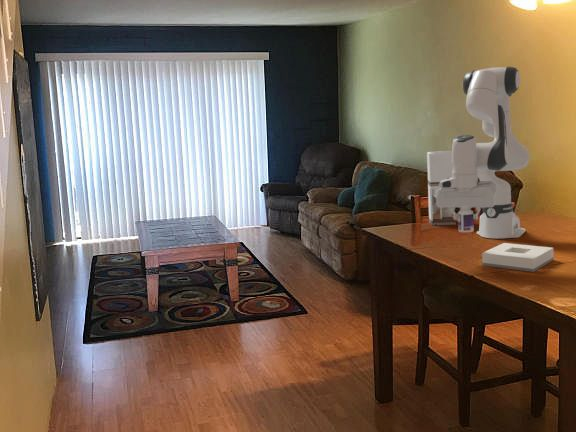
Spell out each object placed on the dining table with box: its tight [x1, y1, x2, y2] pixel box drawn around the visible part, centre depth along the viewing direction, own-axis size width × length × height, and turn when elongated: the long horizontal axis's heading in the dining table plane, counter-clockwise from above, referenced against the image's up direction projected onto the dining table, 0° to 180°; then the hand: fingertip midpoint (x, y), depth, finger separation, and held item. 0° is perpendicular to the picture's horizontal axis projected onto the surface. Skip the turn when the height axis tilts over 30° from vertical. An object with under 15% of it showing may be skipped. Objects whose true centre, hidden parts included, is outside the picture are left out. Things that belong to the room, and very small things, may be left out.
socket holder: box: [481, 242, 554, 273], centre depth 206 cm, size 18×18×4 cm
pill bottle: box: [457, 206, 475, 233], centre depth 210 cm, size 5×5×10 cm
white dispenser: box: [426, 150, 457, 226], centre depth 285 cm, size 11×11×35 cm
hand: (465, 219), depth 210 cm, fingers closed on pill bottle, 5 cm apart
